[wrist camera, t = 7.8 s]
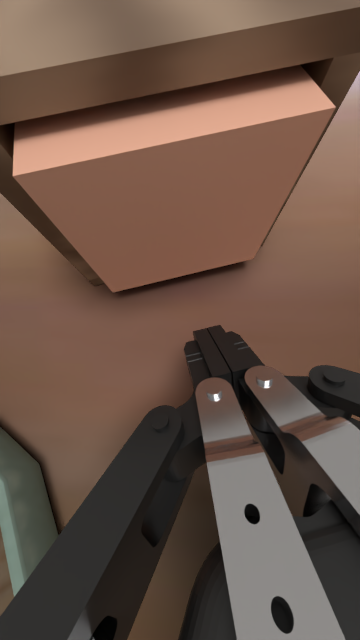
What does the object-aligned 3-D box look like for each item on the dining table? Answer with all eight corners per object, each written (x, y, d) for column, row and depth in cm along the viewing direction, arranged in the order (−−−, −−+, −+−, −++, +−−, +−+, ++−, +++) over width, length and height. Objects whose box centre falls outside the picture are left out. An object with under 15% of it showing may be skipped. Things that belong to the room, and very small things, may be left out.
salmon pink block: (219, 179, 19) (246, 2, 10) (253, 258, 16) (335, 107, 7) (99, 206, 18) (18, 45, 9) (112, 292, 15) (12, 175, 7)
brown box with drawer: (222, 160, 21) (263, -94, 10) (262, 246, 18) (399, -2, 6) (82, 191, 21) (-48, -42, 9) (94, 285, 17) (-98, 95, 6)
